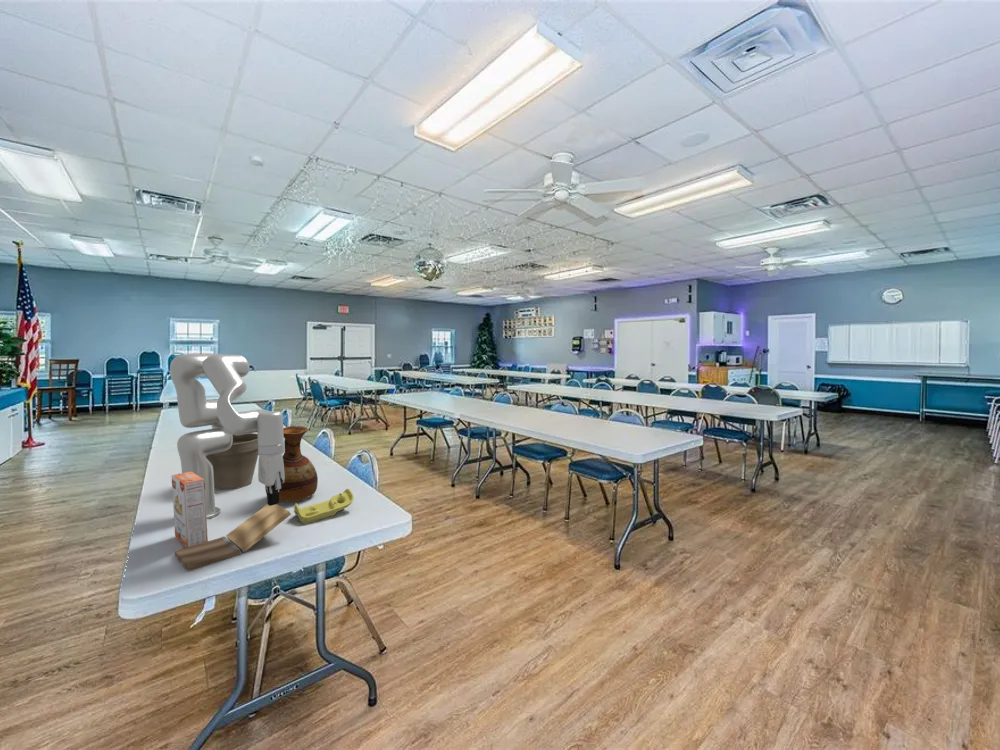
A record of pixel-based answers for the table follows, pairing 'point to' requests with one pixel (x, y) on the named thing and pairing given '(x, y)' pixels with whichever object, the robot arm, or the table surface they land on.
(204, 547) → the walnut board
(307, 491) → the ceramic pitcher
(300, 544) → the table surface
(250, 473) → the plant pot
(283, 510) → the oak plank
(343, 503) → the plastic component
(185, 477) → the cracker box
